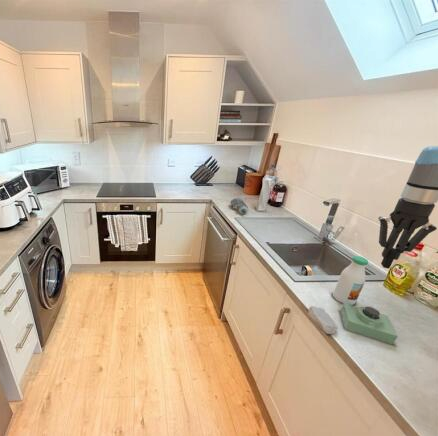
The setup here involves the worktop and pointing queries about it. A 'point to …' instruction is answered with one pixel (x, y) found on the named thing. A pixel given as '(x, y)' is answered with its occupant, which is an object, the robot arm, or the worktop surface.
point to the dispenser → (368, 324)
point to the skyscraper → (264, 195)
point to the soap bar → (322, 320)
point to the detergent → (239, 205)
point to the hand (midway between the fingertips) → (385, 266)
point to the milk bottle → (351, 281)
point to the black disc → (371, 312)
